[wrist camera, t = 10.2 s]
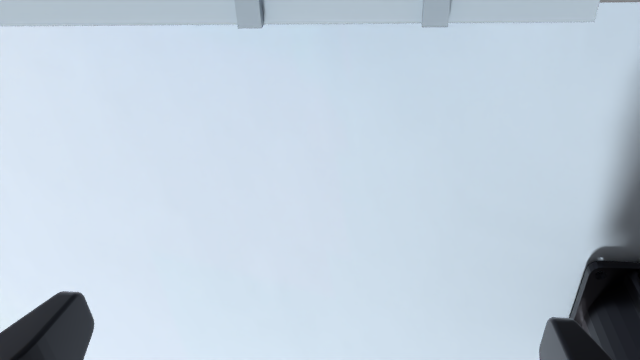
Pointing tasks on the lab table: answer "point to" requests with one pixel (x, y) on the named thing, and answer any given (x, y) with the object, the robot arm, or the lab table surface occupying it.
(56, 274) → the lab table surface
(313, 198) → the lab table surface
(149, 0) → the lid
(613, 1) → the tub
